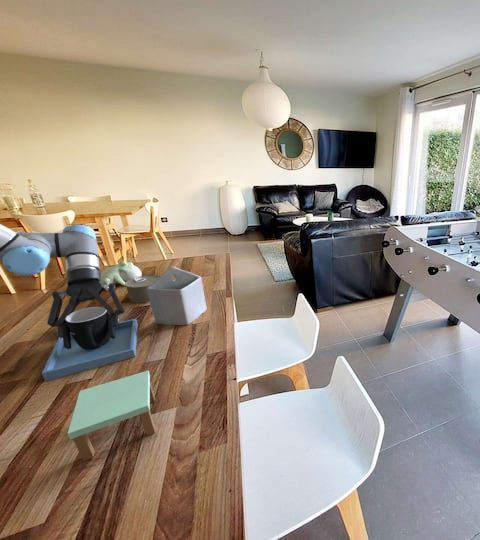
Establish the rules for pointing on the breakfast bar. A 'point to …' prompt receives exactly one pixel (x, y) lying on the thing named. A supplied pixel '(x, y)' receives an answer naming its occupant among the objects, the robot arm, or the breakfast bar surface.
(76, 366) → the tray
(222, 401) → the breakfast bar surface
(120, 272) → the figurine
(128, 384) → the stool
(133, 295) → the can
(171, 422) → the breakfast bar surface
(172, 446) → the breakfast bar surface
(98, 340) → the mug
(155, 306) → the planter
